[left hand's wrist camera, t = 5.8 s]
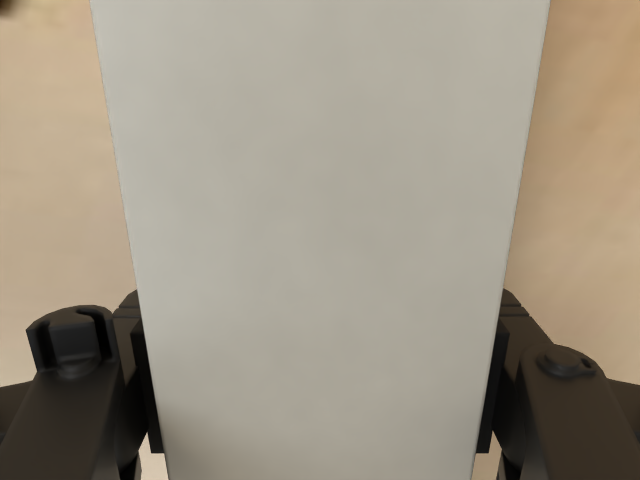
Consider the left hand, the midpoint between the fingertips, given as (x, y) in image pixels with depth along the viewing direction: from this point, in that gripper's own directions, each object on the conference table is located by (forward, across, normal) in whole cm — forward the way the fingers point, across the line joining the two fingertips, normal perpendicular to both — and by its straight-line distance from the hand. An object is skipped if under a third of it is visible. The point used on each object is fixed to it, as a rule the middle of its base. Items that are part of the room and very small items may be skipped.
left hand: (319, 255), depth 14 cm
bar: (+1, 0, -30) cm, 30 cm away
